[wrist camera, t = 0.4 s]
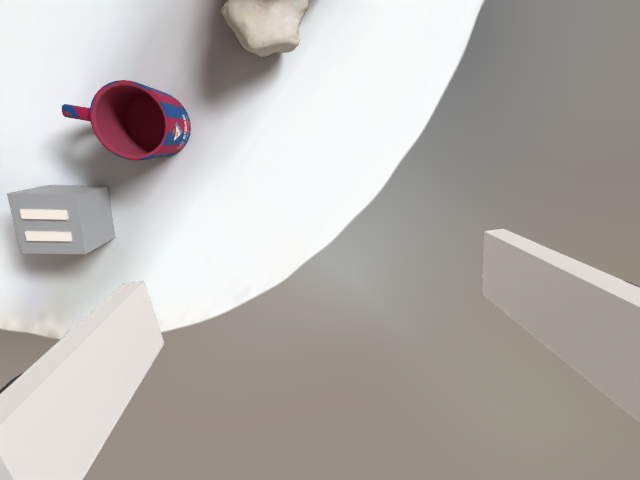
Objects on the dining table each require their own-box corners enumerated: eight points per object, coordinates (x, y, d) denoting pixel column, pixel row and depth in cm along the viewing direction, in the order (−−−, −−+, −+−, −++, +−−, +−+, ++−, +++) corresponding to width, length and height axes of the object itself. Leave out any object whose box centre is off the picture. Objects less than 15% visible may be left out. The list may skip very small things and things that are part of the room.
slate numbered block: (51, 184, 36) (4, 193, 30) (108, 186, 37) (73, 195, 31) (61, 236, 38) (18, 254, 32) (115, 237, 39) (83, 255, 33)
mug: (185, 163, 37) (163, 168, 30) (90, 138, 35) (46, 138, 29) (195, 102, 35) (174, 94, 29) (96, 72, 34) (50, 56, 27)
